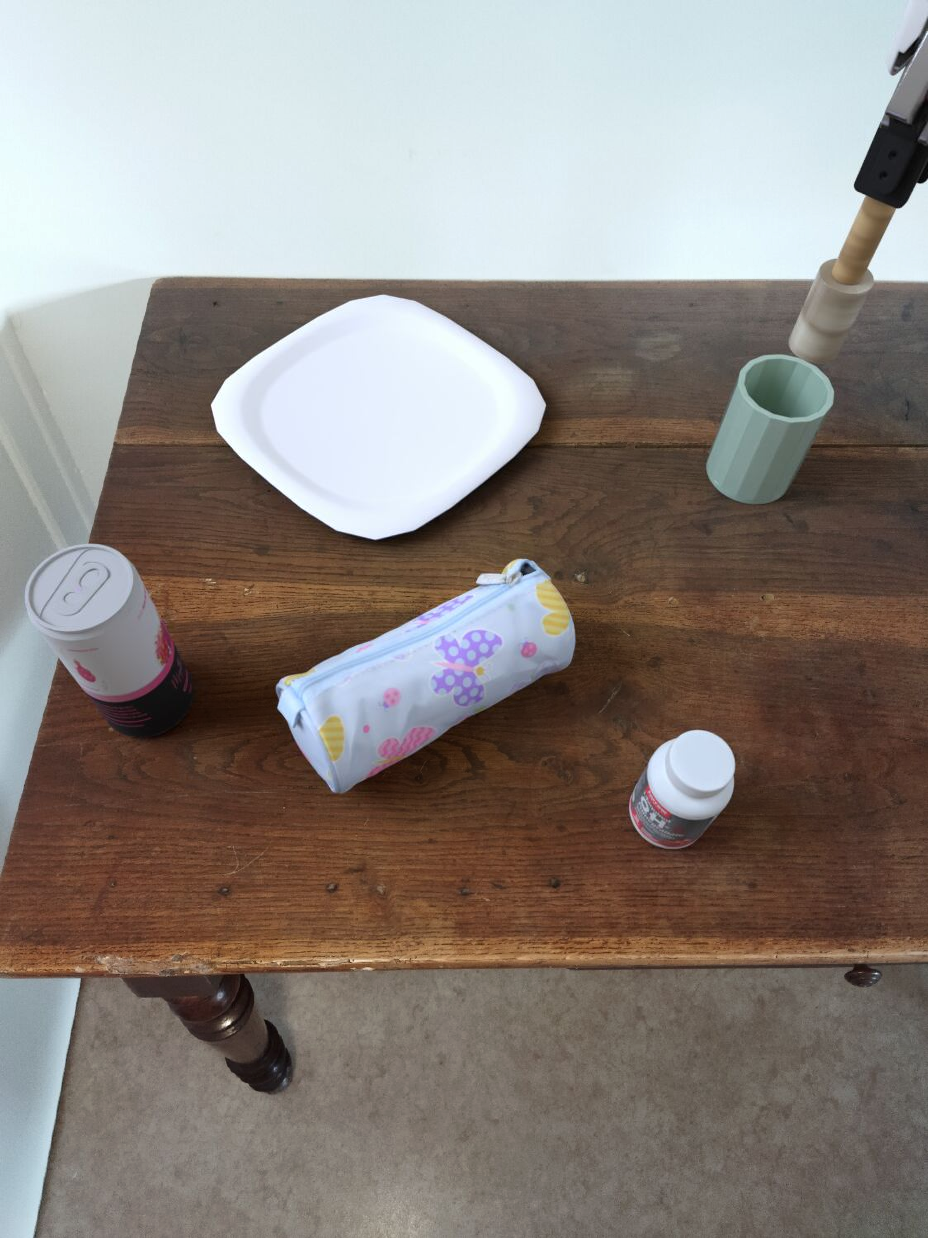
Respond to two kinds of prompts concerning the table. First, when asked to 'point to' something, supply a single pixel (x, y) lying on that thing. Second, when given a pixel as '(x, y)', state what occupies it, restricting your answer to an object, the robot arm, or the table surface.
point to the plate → (378, 415)
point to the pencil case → (427, 675)
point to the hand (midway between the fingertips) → (890, 182)
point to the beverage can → (110, 638)
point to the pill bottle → (683, 789)
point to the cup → (768, 428)
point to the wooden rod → (841, 287)
